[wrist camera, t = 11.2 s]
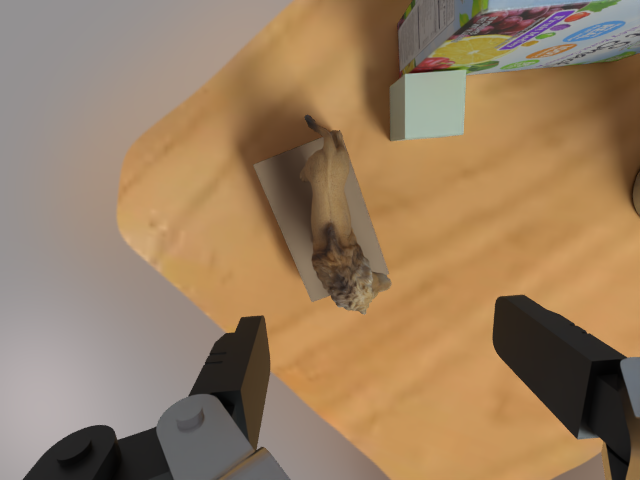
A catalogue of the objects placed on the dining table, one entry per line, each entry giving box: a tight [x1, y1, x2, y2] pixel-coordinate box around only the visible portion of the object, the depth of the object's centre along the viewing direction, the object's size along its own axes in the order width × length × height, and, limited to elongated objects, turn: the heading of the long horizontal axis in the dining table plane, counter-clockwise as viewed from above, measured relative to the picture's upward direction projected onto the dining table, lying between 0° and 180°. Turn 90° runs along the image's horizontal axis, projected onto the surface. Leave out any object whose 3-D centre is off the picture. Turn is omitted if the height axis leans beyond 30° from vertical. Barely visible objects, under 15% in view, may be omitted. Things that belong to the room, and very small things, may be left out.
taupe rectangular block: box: [253, 130, 389, 302], centre depth 31 cm, size 8×14×5 cm, turn 21°
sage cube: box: [390, 70, 466, 141], centre depth 28 cm, size 5×5×5 cm
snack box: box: [397, 0, 640, 78], centre depth 22 cm, size 21×6×15 cm, turn 96°
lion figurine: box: [300, 115, 391, 315], centre depth 24 cm, size 15×5×9 cm, turn 16°
